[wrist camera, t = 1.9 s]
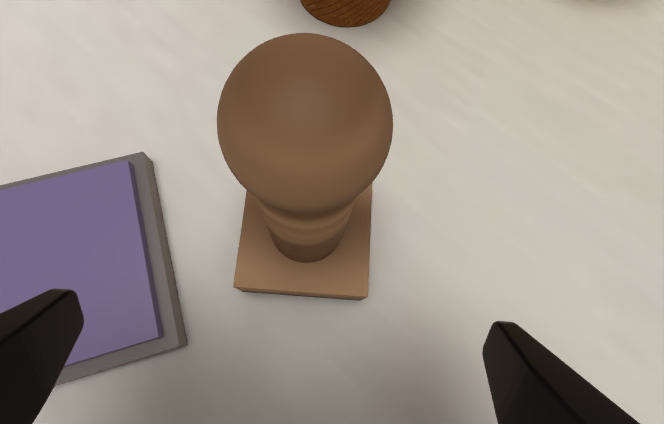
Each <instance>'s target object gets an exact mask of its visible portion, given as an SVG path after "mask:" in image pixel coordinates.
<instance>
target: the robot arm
mask: <svg viewBox="0 0 664 424" xmlns="http://www.w3.org/2000/svg"><path fill="white" fill-rule="evenodd" d="M83 326H84V316H83V312H82V309H81V306H80V302H79V299H78V296H77V293H76V292H75V291H74V290H71V289H59V288H54V289H50V290H48V291H45V292H43V293H41V294H39V295H37V296H35V297H33V298H31V299H29V300H27V301H25V302H23V303H21V304H19V305H17V306H15V307H12V308H10V309H8V310H6V311H4V312H2V313H0V424H32V423H33V422H34V420H35V419H36V417H37V415H38V414H39V412H40V411H41V409H42V407H43V405H44V404H45V402H46V400H47V399H48V397H49V395H50V393H51V391H52V389H53V388H54V386H55V384H56V382H57V380H58V378H59V376H60V374H61V372H62V370H63V368H64V366H65V364H66V362H67V360H68V358H69V356H70V354H71V352H72V349H73V347H74V345H75V343H76V341H77V339H78V337H79V335H80V333H81V331H82V329H83ZM483 360H484V364H485V369H486V373H487V378H488V382H489V386H490V391H491V395H492V400H493V404H494V408H495V413H496V417H497V421H498V424H640V423H638V422H637V421H636V420H635V419H633V418H632V417H631V416H630V415H629V414H627V413H626V412H625V411H624V410H622V409H621V408H620V407H619V406H617V405H616V404H615V403H614V402H612V401H611V400H610V399H609V398H607V397H606V396H605V395H604V394H603V393H601V392H600V391H599V390H598V389H596V388H595V387H594V386H593V385H591V384H590V383H589V382H588V381H586V380H585V379H584V378H583V377H581V376H580V375H579V374H578V373H576V372H575V371H574V370H573V369H572V368H570V367H569V366H568V365H567V364H565V363H564V362H563V361H562V360H560V359H559V358H558V357H557V356H555V355H554V354H553V353H552V352H550V351H549V350H548V349H547V348H546V347H544V346H543V345H542V344H541V343H539V342H538V341H537V340H536V339H534V338H533V337H532V336H531V335H529V334H528V333H527V332H526V331H524V330H523V329H522V328H521V327H519V326H518V325H517V324H515V323H513V322H505V321H496V322H494V323H493V324H492V326H491V329H490V331H489V334H488V336H487V339H486V341H485V344H484V346H483Z"/></svg>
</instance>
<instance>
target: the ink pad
mask: <svg viewBox="0 0 664 424" xmlns="http://www.w3.org/2000/svg"><path fill="white" fill-rule="evenodd" d="M54 288H59V289H71V290H74V291H75V292H76V293H77V296H78V299H79V302H80V306H81V309H82V312H83V316H84V326H83V329H82V331H81V333H80V335H79V337H78V339H77V341H76V343H75V345H74V347H73V349H72V352H71V354H70V356H69V358H68V360H67V362H66V364H65V366H64V368H63V370H62V372H61V374H60V376H59V378H58V380H57V382H56V384H55V386H56V385H59V384H62V383H65V382H68V381H72V380H75V379H78V378H81V377H84V376H88V375H91V374H94V373H97V372H100V371H104V370H107V369H110V368H113V367H116V366H120V365H123V364H126V363H129V362H133V361H136V360H139V359H142V358H145V357H149V356H152V355H155V354H158V353H161V352H165V351H168V350H171V349H174V348H177V347H181V346H184V345H187V340H186V335H185V330H184V325H183V319H182V314H181V309H180V304H179V299H178V294H177V288H176V283H175V278H174V273H173V268H172V262H171V257H170V252H169V247H168V242H167V237H166V231H165V226H164V221H163V216H162V211H161V205H160V200H159V195H158V190H157V185H156V180H155V174H154V169H153V164H152V161H151V160H150V159H149V158H148V157H147V156H146V154H145V153H144V152H140V153H136V154H131V155H127V156H123V157H119V158H114V159H110V160H106V161H102V162H98V163H93V164H89V165H85V166H81V167H76V168H72V169H68V170H64V171H59V172H55V173H51V174H47V175H43V176H38V177H34V178H30V179H26V180H21V181H17V182H13V183H9V184H5V185H0V313H2V312H4V311H6V310H8V309H10V308H12V307H15V306H17V305H19V304H21V303H23V302H25V301H27V300H29V299H31V298H33V297H35V296H37V295H39V294H41V293H43V292H45V291H48V290H50V289H54Z"/></svg>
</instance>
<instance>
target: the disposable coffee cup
mask: <svg viewBox="0 0 664 424" xmlns="http://www.w3.org/2000/svg"><path fill="white" fill-rule="evenodd" d="M389 2H390V0H301V3H302V4H303V6H304V7H305V8H306V9H307V10H308V11H309V12H310V13H311V14H312V15H313V16H315V17H316V18H317V19H320V20H322V21H324V22H326V23H329V24H332V25H336V26H345V27H349V26H359V25H363V24H366V23H368V22H371V21H373V20H375V19H376V18H377V17H379V16H380V15H381V14H382V13H383V12H384V11H385V10H386V8H387V6H388V4H389Z"/></svg>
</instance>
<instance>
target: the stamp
mask: <svg viewBox="0 0 664 424" xmlns="http://www.w3.org/2000/svg"><path fill="white" fill-rule="evenodd" d="M217 131H218V139H219V144H220V147H221V150H222V153H223V156H224V158H225V161H226V163H227V165H228V167H229V168H230V170H231V172H232V173H233V174H234V176H235V177H236V178H237V180H238V181H239V183H240V184H241V185H242V186H243V187H244V188H245V189H246V190H247V193H246V200H245V207H244V215H243V222H242V229H241V236H240V243H239V250H238V257H237V264H236V271H235V278H234V285H233V287H235V288H237V289H239V290H241V291H243V292H254V293H268V294H281V295H294V296H308V297H321V298H335V299H348V300H362V299H364V298H366V297H368V278H369V253H370V228H371V203H372V182H373V181H374V179H375V178H376V177H377V175H378V174H379V172H380V170H381V169H382V167H383V165H384V163H385V160H386V158H387V156H388V152H389V149H390V145H391V141H392V132H393V115H392V109H391V104H390V100H389V96H388V93H387V91H386V88H385V86H384V84H383V82H382V80H381V78H380V77H379V75H378V73H377V72H376V70H375V69H374V68H373V66H372V65H371V64H370V63H369V62H368V61H367V60H366V59H365V58H364V57H363V56H362V55H361V54H360V53H358V52H357V51H356V50H355V49H353V48H352V47H350V46H349V45H347V44H345V43H343V42H341V41H339V40H336V39H334V38H331V37H327V36H323V35H318V34H312V33H296V34H289V35H283V36H280V37H276V38H273V39H271V40H269V41H266V42H264V43H263V44H261V45H259V46H257V47H256V48H255V49H253V50H252V51H250V52H249V53H248V54H247V55H246V56H245V57H244V58H243V59H242V60H241V61H240V62H239V63H238V64H237V65H236V67H235V68H234V69H233V71H232V72H231V74H230V76H229V77H228V79H227V81H226V83H225V85H224V88H223V90H222V93H221V97H220V101H219V105H218V112H217Z"/></svg>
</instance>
